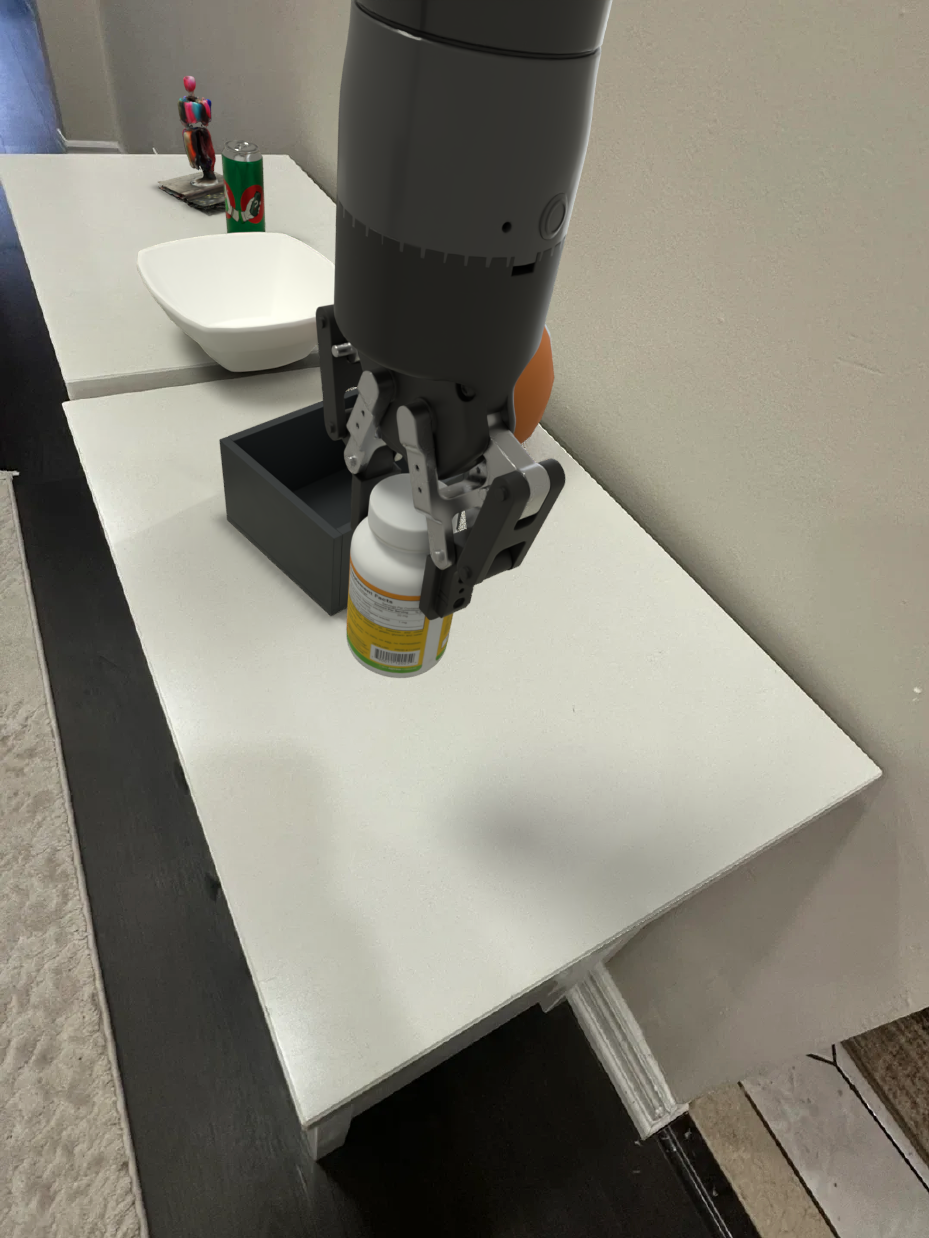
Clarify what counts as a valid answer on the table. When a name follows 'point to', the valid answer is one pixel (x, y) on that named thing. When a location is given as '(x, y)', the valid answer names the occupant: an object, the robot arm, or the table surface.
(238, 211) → the soda can
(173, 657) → the table surface
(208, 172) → the statue
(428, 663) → the supplement bottle
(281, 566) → the bin
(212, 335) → the bowl
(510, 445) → the robot arm
